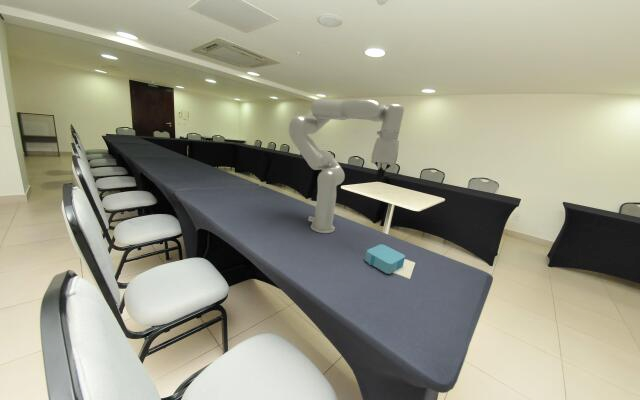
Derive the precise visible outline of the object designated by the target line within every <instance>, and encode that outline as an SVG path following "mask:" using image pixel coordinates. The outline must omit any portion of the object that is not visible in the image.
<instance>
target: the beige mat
mask: <svg viewBox="0 0 640 400" xmlns="http://www.w3.org/2000/svg"><path fill="white" fill-rule="evenodd" d="M369 265H370V266H372V265H371V264H369ZM415 265H416V261H415V262H414V261H412V260H409V259H406V258H405V259H404V263H403V266H402V267H401V268H399V269H397V270H396V271H394V272H392V273H391V274H394V275H396V276H399V277H401V278H404V279H407V280H410V279H411V277H412V273H413V270H414V267H415Z"/></svg>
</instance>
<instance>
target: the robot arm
mask: <svg viewBox="0 0 640 400" xmlns="http://www.w3.org/2000/svg"><path fill="white" fill-rule="evenodd" d="M310 112H311V115H310V116H308V115H295V116H293V118H292V119H291V120H290V122H289V125H288V126H289V127H288V133H289V138H290V139H291V142H292V143H293V144H294V145H295V147H296V148H297V150H298V151H299V152H300V154H301V156H302V157H303V159H304V160H305V161H306V162H307V165H308V166H309V167H310V168H311V169H312V170H314V171H317V170H318V171H319V170H321V171H320V172H319V173H318V176H317V194H316V203H315V212H314V216H311V215H309V216H308V219H307V221H308V222H311V224H310V228H311V230H312V231H314V232H315V233H316V232H317V233H320V234H331V233H334V231H335V229H336V227H335V225H333V222H334V214H335V209H336V208H335V207H336V202H337V186H339V185H341V184H342V183H343V182H344V181H345V177H346V175H345V172H344V169H343V168H342V166H341V165H340V164H339V162H338V161H337V160H336V158H335V157H334V156H333V154H332V153H331V152H329V151H328V150H325V149H320V148H319V147H318V146H317V145H316V143H315V141H314V140H313V139H312V138H311V137H310V136H309V135H314V134H316V133H318V132H319V131H320V130H321V128H323V127H324V126H325V125H326V124H327V123H328V122H330V121H331V120H337V121H346V120H351V119H352V120H353V119H354V120H366V121H371V122H378V123H379V122H381V127H380V130H379V131H377V132H376V135H378V137H377V138H376V140H375V143H374V146H373V150H372V154H371V158H370V159H371V160H370V162H371V164H374V165H375V166H376V168H377V172H376V176H377V177H376V178H377V179H379V180H380V179H381V180H382V179H383V178H384V177H385V174H386V170H388V169H389V168H394V167H396V165H397V159H398V154H399V147H400V143H399V142H400V141H399V140H398V138H399V134H400V129H401V126H402V120H403V116H404V112H405V107H404V106H403V105H401V104H397V103H388V104H384V103H383V104H382V103H381V102H379V101H378V100H374V99H358V98H357V99H354V98H352V99H337V98H336V99H335V98H333V99H332V98H330V99H329V98H318V99H315V100H313V102H312V103H311V105H310Z"/></svg>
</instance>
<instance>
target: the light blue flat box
mask: <svg viewBox="0 0 640 400" xmlns="http://www.w3.org/2000/svg"><path fill="white" fill-rule="evenodd" d="M404 259H406V255H405V254H403V253H401V252H399V251H397V250H395V249H393V248H391V247H389V246H388V245H385V244H378V245H375V246H373V247H371V248H369V249H367V250H366V253H365V258H364V261H365V262H366V263H367V264H368V265H370V264H371V265H370V266H372V267H375V268H377V269H378V270H379V271H381V272H383V273H385V274H387V275H388V274H393V273H392V272H394V271H396V270H397V269H399V268H401V267H402V266H403V263H404Z"/></svg>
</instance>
